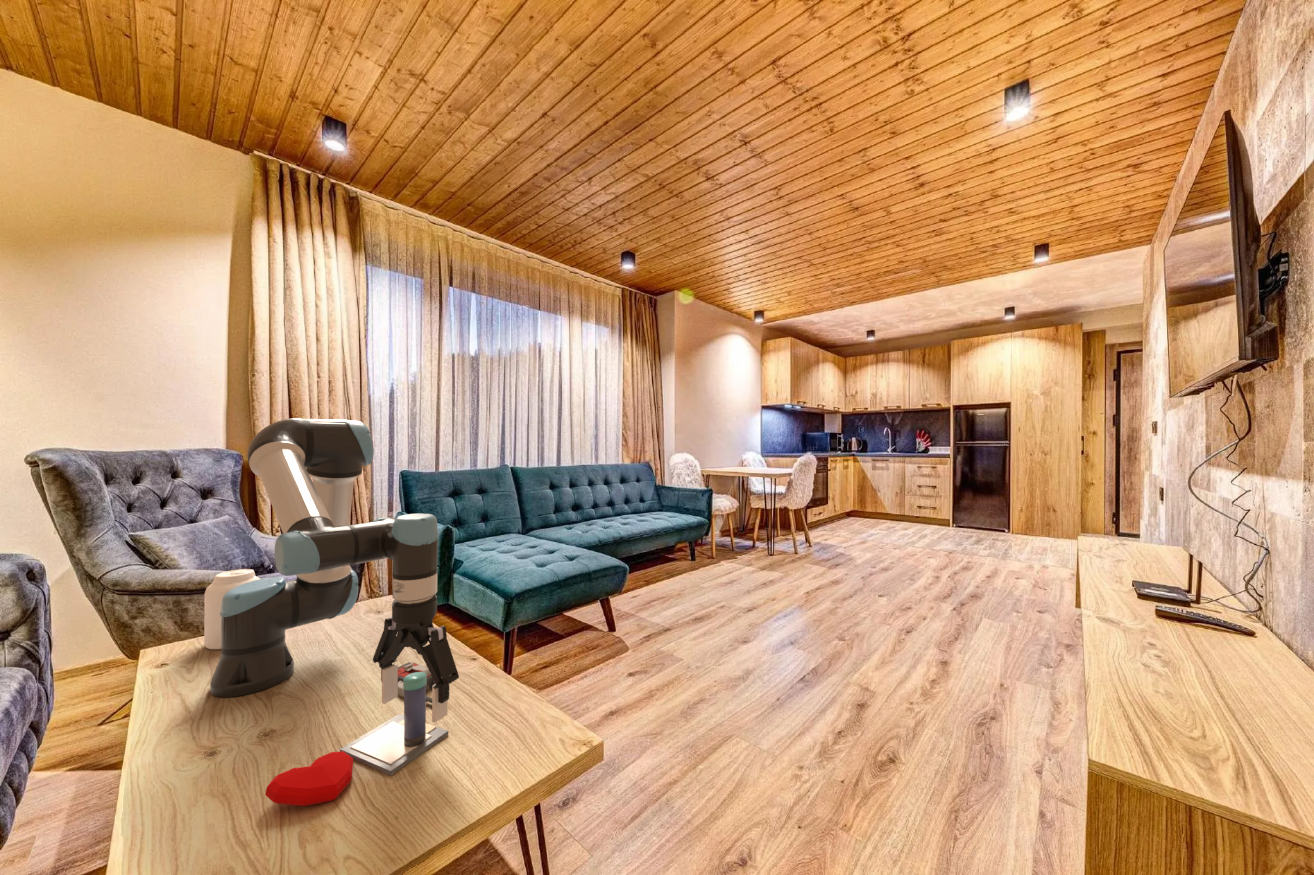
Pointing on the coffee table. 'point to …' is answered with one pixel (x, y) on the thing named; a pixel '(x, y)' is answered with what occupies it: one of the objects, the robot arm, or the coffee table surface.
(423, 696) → the marker
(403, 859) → the coffee table surface
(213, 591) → the white jar
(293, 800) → the heart
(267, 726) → the coffee table surface
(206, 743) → the coffee table surface
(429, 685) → the walkie-talkie
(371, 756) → the clipboard
